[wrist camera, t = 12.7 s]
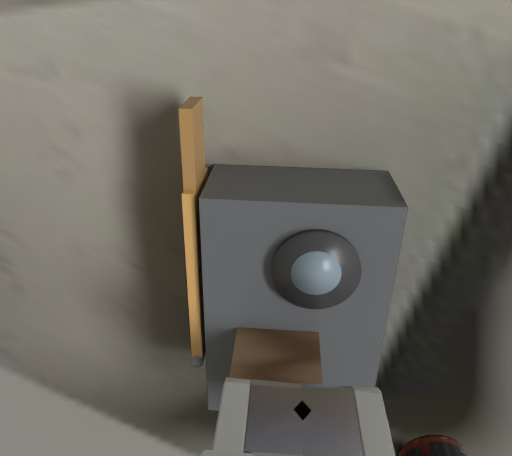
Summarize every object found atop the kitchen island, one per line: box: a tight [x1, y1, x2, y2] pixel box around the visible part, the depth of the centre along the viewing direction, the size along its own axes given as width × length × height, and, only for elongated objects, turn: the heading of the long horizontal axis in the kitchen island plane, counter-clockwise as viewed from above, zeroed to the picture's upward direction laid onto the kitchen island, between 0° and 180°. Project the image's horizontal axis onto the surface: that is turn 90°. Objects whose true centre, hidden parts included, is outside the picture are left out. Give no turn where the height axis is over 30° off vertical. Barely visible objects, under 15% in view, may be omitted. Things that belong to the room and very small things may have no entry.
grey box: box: [199, 164, 408, 411], centre depth 30 cm, size 16×11×6 cm
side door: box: [179, 97, 208, 367], centre depth 29 cm, size 17×1×5 cm, turn 179°
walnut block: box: [229, 327, 323, 385], centre depth 27 cm, size 5×5×5 cm
